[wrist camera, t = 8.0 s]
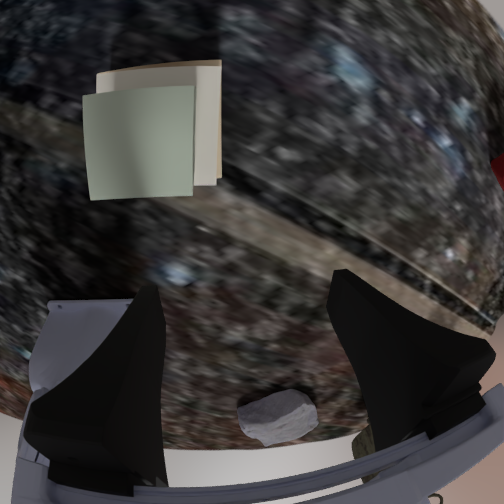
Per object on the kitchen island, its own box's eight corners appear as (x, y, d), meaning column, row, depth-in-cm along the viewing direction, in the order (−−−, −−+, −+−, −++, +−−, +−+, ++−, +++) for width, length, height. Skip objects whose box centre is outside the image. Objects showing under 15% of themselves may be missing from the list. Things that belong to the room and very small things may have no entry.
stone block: (292, 372, 36) (228, 408, 35) (309, 399, 32) (239, 437, 31) (313, 401, 43) (261, 431, 42) (327, 423, 39) (272, 454, 38)
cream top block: (114, 175, 16) (102, 189, 14) (111, 75, 13) (96, 74, 10) (214, 171, 17) (216, 185, 15) (219, 69, 14) (221, 66, 11)
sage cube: (116, 171, 13) (90, 200, 10) (113, 93, 11) (82, 95, 8) (194, 168, 14) (192, 195, 11) (196, 87, 12) (194, 85, 8)
